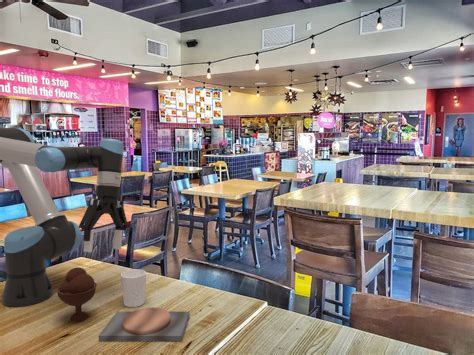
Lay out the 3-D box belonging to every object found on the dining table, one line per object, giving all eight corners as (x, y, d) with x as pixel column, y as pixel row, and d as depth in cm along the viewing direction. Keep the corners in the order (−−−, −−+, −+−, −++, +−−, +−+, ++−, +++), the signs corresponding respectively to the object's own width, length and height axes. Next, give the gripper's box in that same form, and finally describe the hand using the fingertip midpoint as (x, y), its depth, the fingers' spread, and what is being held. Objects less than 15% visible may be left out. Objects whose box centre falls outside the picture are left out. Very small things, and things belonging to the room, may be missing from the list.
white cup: (140, 309, 117) (139, 278, 116) (117, 307, 118) (115, 276, 118) (150, 298, 125) (149, 269, 124) (129, 297, 126) (128, 268, 125)
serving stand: (98, 341, 98) (98, 330, 98) (117, 316, 112) (116, 306, 112) (181, 341, 98) (181, 330, 98) (189, 316, 112) (189, 306, 112)
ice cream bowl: (50, 323, 108) (47, 273, 107) (78, 307, 119) (76, 261, 117) (79, 329, 105) (76, 277, 103) (105, 312, 115) (103, 265, 114)
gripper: (89, 181, 111) (83, 254, 108) (140, 189, 134) (136, 248, 131) (70, 181, 113) (63, 252, 111) (123, 188, 136) (119, 247, 134)
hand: (103, 250), depth 121 cm, fingers open, 13 cm apart
